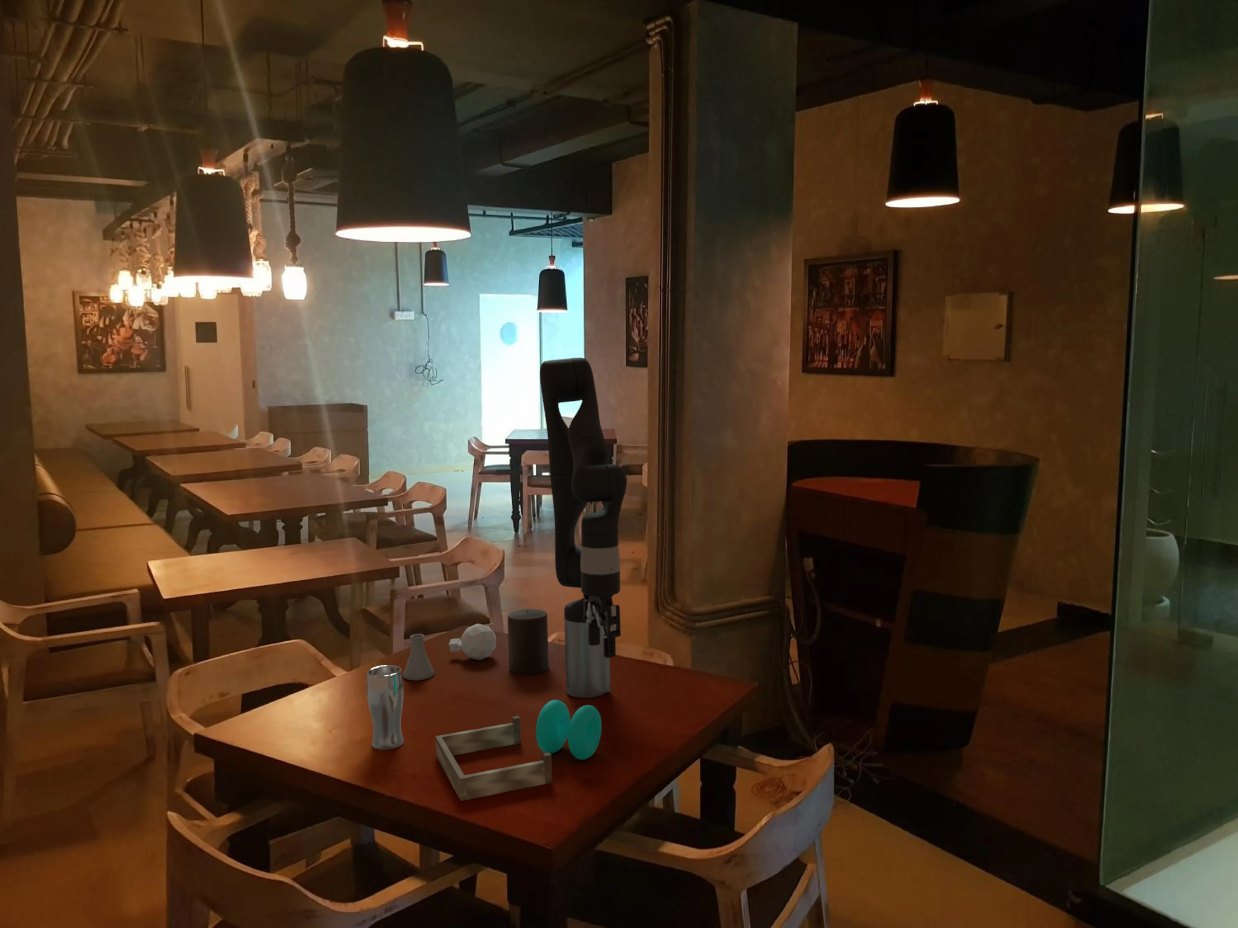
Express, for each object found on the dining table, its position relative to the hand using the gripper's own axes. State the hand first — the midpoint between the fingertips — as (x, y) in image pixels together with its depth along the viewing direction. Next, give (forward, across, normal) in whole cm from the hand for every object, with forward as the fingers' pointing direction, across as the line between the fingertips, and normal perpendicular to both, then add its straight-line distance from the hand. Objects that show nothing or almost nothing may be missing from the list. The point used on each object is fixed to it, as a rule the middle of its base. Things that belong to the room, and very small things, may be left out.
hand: (601, 650), depth 182 cm
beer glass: (+19, +18, +39) cm, 47 cm away
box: (+19, -2, +23) cm, 30 cm away
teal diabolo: (+19, -1, +7) cm, 21 cm away
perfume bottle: (+19, +64, +11) cm, 67 cm away
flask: (+19, +55, +27) cm, 64 cm away
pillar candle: (+19, +50, +1) cm, 53 cm away
